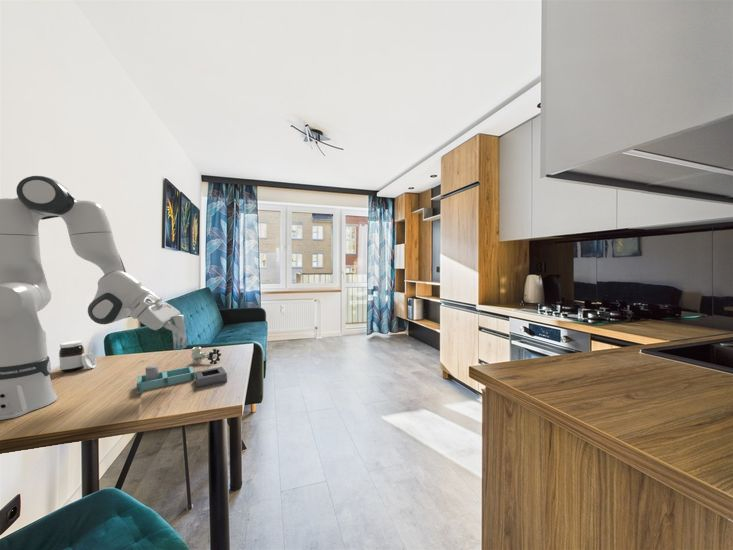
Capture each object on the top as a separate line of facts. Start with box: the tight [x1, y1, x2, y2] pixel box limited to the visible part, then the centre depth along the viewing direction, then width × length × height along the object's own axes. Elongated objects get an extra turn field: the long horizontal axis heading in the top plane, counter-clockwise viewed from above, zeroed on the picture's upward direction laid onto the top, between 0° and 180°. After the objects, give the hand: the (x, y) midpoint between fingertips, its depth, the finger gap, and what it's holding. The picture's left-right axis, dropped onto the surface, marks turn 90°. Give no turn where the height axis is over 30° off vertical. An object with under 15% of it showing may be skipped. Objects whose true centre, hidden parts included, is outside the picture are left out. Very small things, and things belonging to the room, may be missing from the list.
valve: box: [191, 346, 222, 365], centre depth 135 cm, size 7×7×12 cm
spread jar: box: [58, 340, 97, 374], centre depth 131 cm, size 12×11×12 cm
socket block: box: [194, 366, 228, 389], centre depth 111 cm, size 9×9×4 cm
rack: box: [136, 365, 196, 395], centre depth 112 cm, size 17×9×7 cm, turn 124°
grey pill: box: [171, 314, 187, 351], centre depth 114 cm, size 4×4×12 cm
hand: (180, 329), depth 114 cm, fingers closed on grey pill, 4 cm apart
